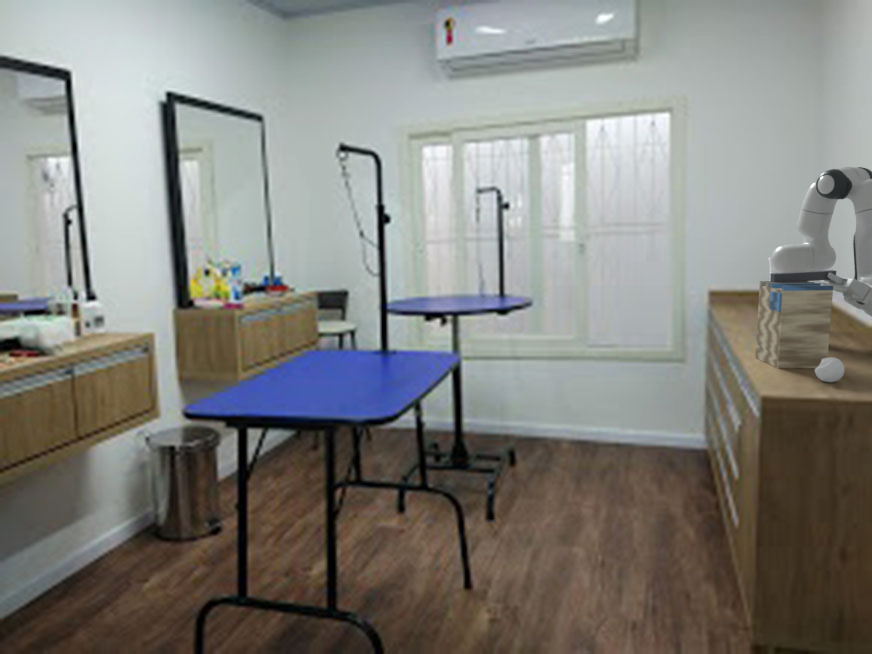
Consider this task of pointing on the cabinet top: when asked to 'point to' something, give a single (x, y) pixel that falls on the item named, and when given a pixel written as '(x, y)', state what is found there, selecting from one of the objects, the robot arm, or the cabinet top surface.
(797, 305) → the riser
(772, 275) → the dark grey piece
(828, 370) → the white round lump
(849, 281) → the robot arm
